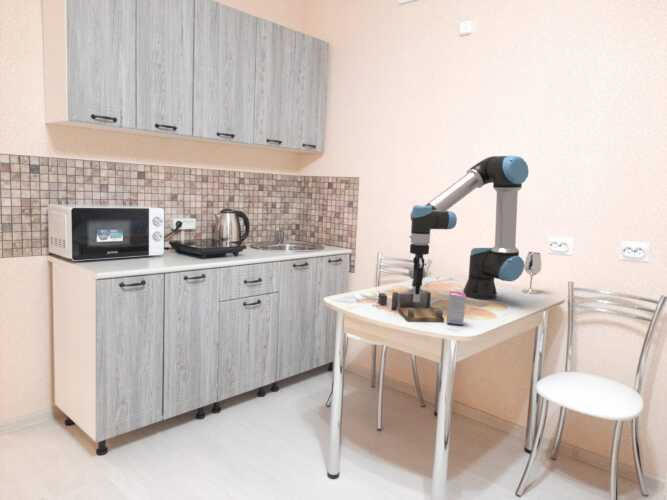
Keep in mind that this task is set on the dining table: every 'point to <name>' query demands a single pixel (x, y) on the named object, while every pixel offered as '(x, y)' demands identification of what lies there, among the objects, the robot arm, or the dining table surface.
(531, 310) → the dining table surface
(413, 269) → the figurine
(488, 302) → the dining table surface
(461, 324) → the supplement box
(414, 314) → the cabinet door
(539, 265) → the wineglass
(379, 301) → the stop block
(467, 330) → the dining table surface
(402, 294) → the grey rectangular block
